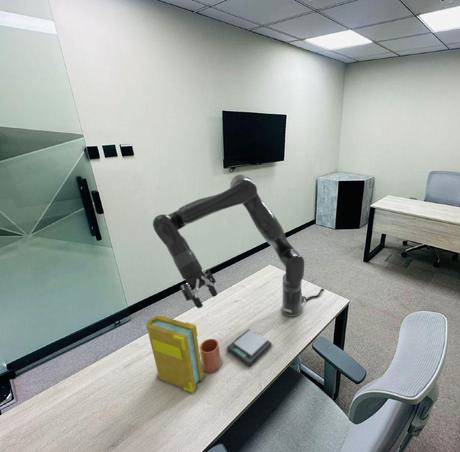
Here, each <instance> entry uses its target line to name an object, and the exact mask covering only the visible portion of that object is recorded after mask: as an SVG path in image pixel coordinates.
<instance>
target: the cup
mask: <svg viewBox="0 0 460 452" xmlns="http://www.w3.org/2000/svg"><path fill="white" fill-rule="evenodd" d="M220 352H221V351H220V343H219V341H218V340H217V339H215V338H207V339H205V340H204V341H202V342H201V344H200V345H199V354H200V360H201V367H202V368H203V372H206V373H213V372H216V371H217V370H218V369H219V368H220V367H221V360H222V359H221V353H220Z"/></svg>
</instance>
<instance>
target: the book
mask: <svg viewBox="0 0 460 452" xmlns="http://www.w3.org/2000/svg"><path fill="white" fill-rule="evenodd" d="M145 326H146V330H147V334H148V338H149V342H150V346H151V347H150V348H151V350H152V355H153V358H154V362H155V366H156V370H157V375H158V378H159V380H161V381H163V382H166V383H169V384H171V385H174V386H177V387H180V388H182V390H183V391H186V392H189V393H191V394H193V393H194V392H195V390H196V389H197V386H196V385H197V383H198V382H202V381H203V379H204V378H205V375H204V369H203V366H202V359H201V353H200V347H199V342H198V337H199V336H198V329H197V324H195V323H191V322H188V321H186V322H184V321H180V320H177V319H173V318H170V317H166V316H164V315H163V316H162V315H154V316H152V317H150V318H149V319H148V320H147V321H146V323H145Z"/></svg>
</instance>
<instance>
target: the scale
mask: <svg viewBox="0 0 460 452" xmlns="http://www.w3.org/2000/svg"><path fill="white" fill-rule="evenodd" d="M271 347H272V342H271V341H270V340H268V338H266V337H264V336H263V335H261V334H260V333H258V332H256V331H255V330H253V329H251V328H248V329H247V330H246V331H245V332H243V333H242V334H241V335H239V336H238V337H237V338H236V339H235V340H234V341H232V342H231V343H230V344H229V345H228V346H227V347H226V348H227V351H228V353H231V354H232V355H233V356H235V357H236V358H237V359H238V360H240V361H241V362H243V363H244V364H245V365H247V367H252V365H254V364H255V363H256V362H257V361H258V359H259V358H261V356H263V355H264V354H265V353H266V352H267V351H268V350H269V349H270V348H271Z"/></svg>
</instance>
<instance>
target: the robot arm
mask: <svg viewBox="0 0 460 452" xmlns="http://www.w3.org/2000/svg"><path fill="white" fill-rule="evenodd" d="M229 185H230V186H229V187H230V188H228V189H225V190H224V191H223V192H219V193H218V194H214V195H211V196H206V197H201V198H198V199H196V200H193V201H191V202H189V203H186V204H184V205H182V206H180V207H178V209H177V210H175V211H173V212H171V213H168V214H162V213H161V214H159V215H157V216H155V217H154V218H153V221H152V227H153V231H154V232H155V234H156V235H157V237H158V238H159V239H160V240H161V242H162V243H163V244H164V245H165V247H166V248H167V250H168V252H169V255H170V257H171V258H172V260H173V263H174V265H175V267H176V268H177V270H178V272H179V274H180V276H181V278H182V279H183V280H185V283H183V284H181V285H180V286H179V288H180V290H181V293H182V295H183V296H184V298H185V300H186V301H187V302H188V301H192V303H193V304H194V306H195V307H196V308H197V309H201V308H203V307H204V304H203V302H202V300H201V299H200V297H199V296H198V295H199V291H200V289H201V288H202V287H206V288H207V289H208V292H209V293H210V295H211V296H212V298H214V297H216V296H218V292H217V289H216V288H215V283H217V281H216V279H215V277H214V275H213V274H212V273H211V270H210V269H208V268H207V269H205V270H204V271H203V267H202V265H201V263H200V261H199V260H198V258H197V255H196V254H195V253H194V251H193V250H192V249H191V247H190V245H189V243H188V242H187V240H186V238H185V237H184V236H183V235H181V232H180V231H179V230H181V229H183V228H184V227H186V226H188V225H190V224H193V223H195V222H197V221H199V220H201V219H204V218H206V217H208V216H210V215H213V214H215V213H217V212H220V211H222V210H225V209H228V208H232V207H235V206H238V205H243V206H244V208H245V209H246V211H247V213H248V214H249V216H250V218H251V221H252V222H253V224H254V226H255V227H256V229H257V230H258V232H259V233H260V235H261V236H262V237H263V239H264V240H265V241H266V242H267V244H269V245H270V246H271V247H272V248H273V249H274V251H275V253H276V255H277V257H278V259H279V260H280V262H281V264H282V266H283V267H284V268H285V273H284V274H283V275H282V299H281V300H282V303H281V304H282V308H281V311H282V313H283V315H285V316H287V317H291V318H293V317H297V316H299V315H300V314H301V311H302V305H303V303H304V302H305V301H309V300H310V299H313V298H318V297H319V296H320V295H321V294H322V291H325V289H324V288H321V289H320V290H319V293H318V294H316V295H311V296H309V297H308V298H307V297H306V296H304V295H303V292H302V285H303V284H302V282H303V279H304V276H305V259H304V257H303V256H302V255H301V254H300V253H299V252H298V251H297V250H296V249H295V248H294V247H293V246H292V244H291V243H290V242H289V241H288V239H287V237H286V234H285V230H284V229H283V227H282V225H281V223H280V221H279V219H277V216H276V215H275V214H274V213H273V211H272V210H271V209H270V208H269V207H268V206H267V204H266V203H264V201H263V200H262V199H261V197H260V195H259V194H258V187H257V185H256V183H255V182H254V181H253V180H252V179H251V177H249V176H248V175H244V174H237V175H235V176H233V178H232V179H231V181H230V184H229Z"/></svg>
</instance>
